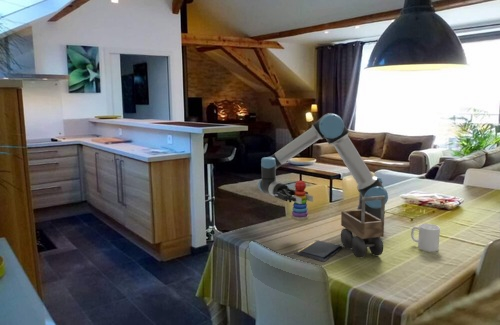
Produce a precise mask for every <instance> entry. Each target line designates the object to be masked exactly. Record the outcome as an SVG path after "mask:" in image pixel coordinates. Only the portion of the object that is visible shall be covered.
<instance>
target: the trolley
mask: <svg viewBox="0 0 500 325" xmlns="http://www.w3.org/2000/svg"><path fill="white" fill-rule="evenodd" d="M385 199H386V197H385V196H373V197H362V199H361V200H362V209H361V210H357V209H354V210H353V209H352V210H342V211H341V216H340V217H341V218H340V219H341V220H340V226H341V227H344V228H342V229H341V233H340V241H341V244H342V247H344V248H343V249H345V250H352V251H353V255H354V256H355V257H356V258H358V259H359V258H360V259H361V258H364V257H366V254H367V253H366V252H367V248H369V251H370V252H371V254H372V255H374V256H381V255H382V254H383V251H384V241H383V240H382V237H384V236H385V235H384V233H385V232H384V231H385V214H386V213H385V210H386V204H385ZM373 200H381V219H379V218H377V217H375V216H373V215H371V214H369V213H367V212H365V201H373Z"/></svg>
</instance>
